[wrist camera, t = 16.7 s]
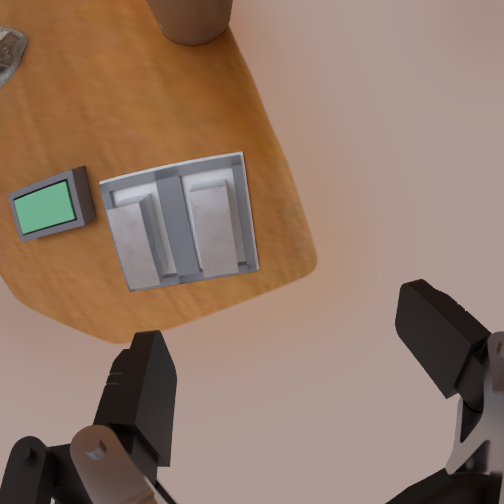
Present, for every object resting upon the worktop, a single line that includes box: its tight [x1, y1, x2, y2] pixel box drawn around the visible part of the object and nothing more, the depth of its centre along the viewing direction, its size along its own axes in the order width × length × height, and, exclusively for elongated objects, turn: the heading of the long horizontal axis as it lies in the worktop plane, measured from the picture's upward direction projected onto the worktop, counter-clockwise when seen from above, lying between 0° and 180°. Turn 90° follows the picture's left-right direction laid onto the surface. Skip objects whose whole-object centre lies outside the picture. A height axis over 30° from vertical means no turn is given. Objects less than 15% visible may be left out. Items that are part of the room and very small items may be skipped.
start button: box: [14, 181, 77, 234], centre depth 31 cm, size 5×10×2 cm, turn 98°
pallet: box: [99, 151, 259, 292], centre depth 36 cm, size 16×19×2 cm
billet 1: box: [107, 193, 168, 289], centre depth 33 cm, size 10×4×6 cm, turn 8°
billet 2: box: [188, 179, 239, 277], centre depth 34 cm, size 4×10×6 cm, turn 6°
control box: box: [8, 166, 96, 243], centre depth 32 cm, size 7×12×4 cm, turn 98°
